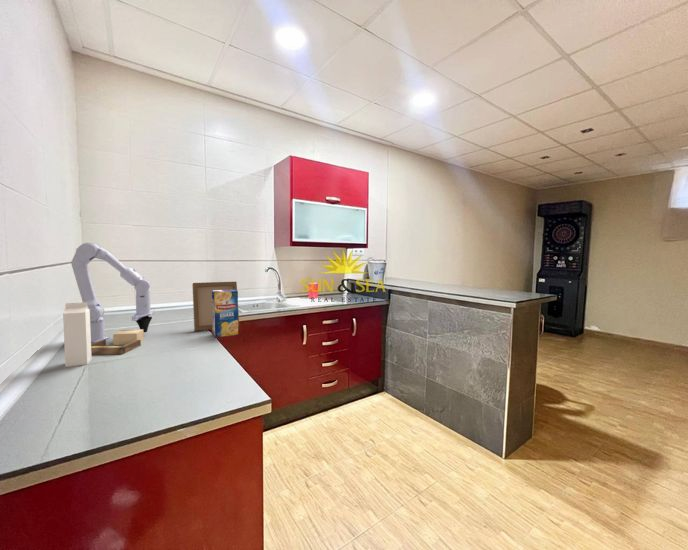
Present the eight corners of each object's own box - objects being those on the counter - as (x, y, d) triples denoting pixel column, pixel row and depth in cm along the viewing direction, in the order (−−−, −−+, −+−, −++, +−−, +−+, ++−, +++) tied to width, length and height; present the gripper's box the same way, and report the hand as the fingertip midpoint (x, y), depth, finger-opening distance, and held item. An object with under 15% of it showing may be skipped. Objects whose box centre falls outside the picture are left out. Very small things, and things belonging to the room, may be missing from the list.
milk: (87, 364, 106) (85, 303, 104) (64, 367, 103) (62, 304, 101) (91, 359, 111) (89, 301, 110) (70, 361, 108) (67, 301, 107)
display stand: (80, 354, 116) (79, 347, 116) (102, 345, 127) (101, 339, 127) (122, 354, 117) (122, 347, 117) (140, 345, 128) (140, 339, 128)
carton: (113, 345, 128) (113, 333, 128) (121, 340, 135) (121, 329, 135) (136, 344, 130) (136, 333, 130) (143, 339, 137) (143, 329, 137)
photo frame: (239, 327, 162) (238, 282, 161) (195, 332, 151) (194, 283, 149) (233, 322, 175) (233, 280, 173) (192, 326, 163) (191, 281, 162)
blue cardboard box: (212, 334, 148) (211, 290, 147) (234, 331, 154) (234, 289, 153) (214, 337, 142) (214, 292, 141) (238, 334, 149) (238, 290, 147)
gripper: (142, 307, 136) (143, 336, 137) (160, 302, 150) (160, 328, 151) (126, 307, 135) (127, 336, 136) (145, 302, 150) (146, 328, 151)
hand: (144, 332), depth 144 cm, fingers closed
